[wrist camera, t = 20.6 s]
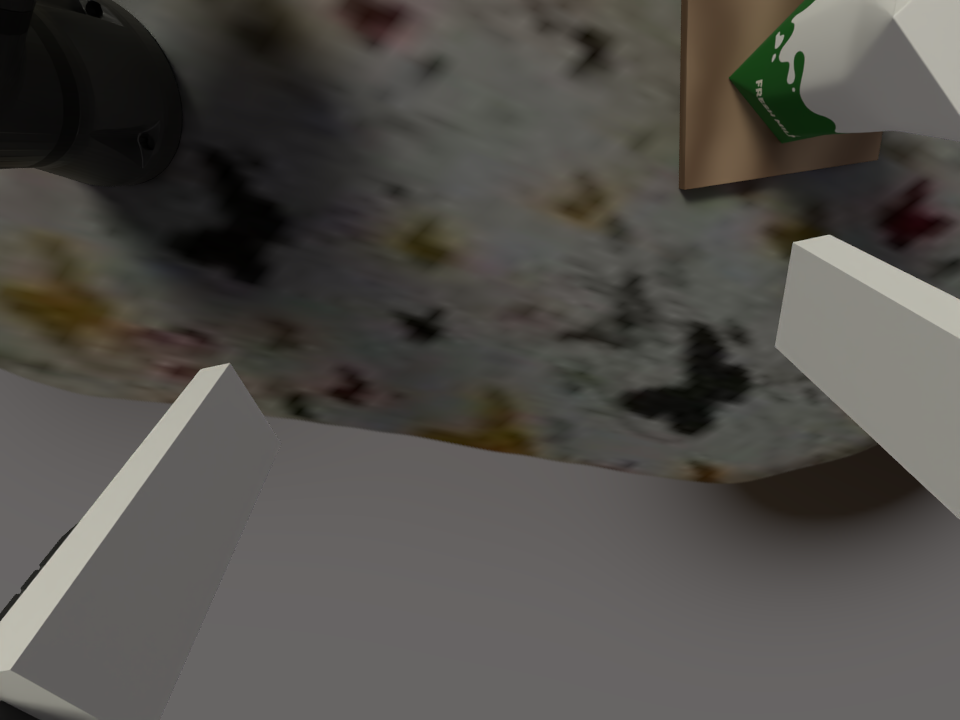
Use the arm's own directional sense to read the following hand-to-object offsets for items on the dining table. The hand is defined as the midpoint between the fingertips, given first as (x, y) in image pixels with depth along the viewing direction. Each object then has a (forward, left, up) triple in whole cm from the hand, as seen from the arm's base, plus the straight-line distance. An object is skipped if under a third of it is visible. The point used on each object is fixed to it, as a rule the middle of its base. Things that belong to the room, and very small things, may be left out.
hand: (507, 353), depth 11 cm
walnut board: (+22, +7, -34) cm, 41 cm away
